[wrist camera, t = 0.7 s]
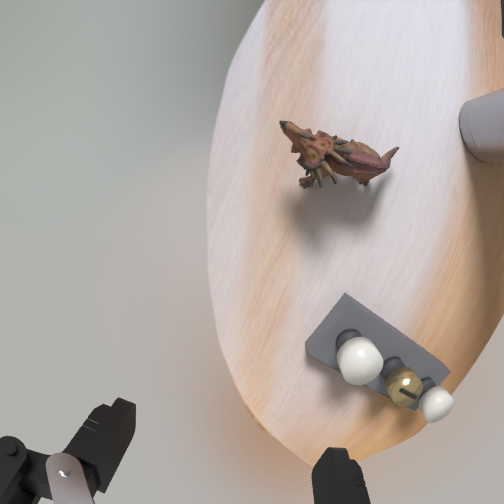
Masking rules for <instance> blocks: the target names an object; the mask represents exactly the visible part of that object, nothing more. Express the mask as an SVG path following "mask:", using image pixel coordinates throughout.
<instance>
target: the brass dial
mask: <svg viewBox="0 0 504 504" xmlns="http://www.w3.org/2000/svg"><path fill="white" fill-rule="evenodd" d="M385 388H386V390H387V392H388V394H389V395H390V397H391V399H392V401H393V403H394V404H395V405H397V406H406V405H409V404H411V403H412V402H414V401H415V400H416V399H417V398H418V397H419V396H420V394H421V393H422V390H423V383H422V382H421V380H420V379H419V378H418V376H417V375H416V374H415V372H414V371H413V370H412V369H411V368H410V367H401V368H398V369H396V370H395V371H393V372H392V373H391V374H390V375H389V376H388V378H387V380H386V382H385Z"/></svg>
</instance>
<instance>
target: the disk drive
mask: <svg viewBox="0 0 504 504" xmlns="http://www.w3.org/2000/svg"><path fill="white" fill-rule="evenodd" d="M501 10H502V36H503V37H504V0H501Z"/></svg>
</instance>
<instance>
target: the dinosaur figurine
mask: <svg viewBox="0 0 504 504" xmlns="http://www.w3.org/2000/svg"><path fill="white" fill-rule="evenodd" d="M279 123H280V125H281V128H282V130H283V133H284V134H285V135H286V136H287V137H288V138H289V139H290V140H291V141H292V142H293V145H292V150H291V153H293V152H294V153H298V152H299V153H300V154H301V155H300V157H299V159H298V160H297V162H298V164H300V166H302V167H304V170H305V169H306V176H307V175H308V174H309V173H310V174H311V176H309V177H305V178H300V179H299V181H300V182H301V183H300V186H301V185H302V186H303V188H305V187H307V185H308V186H309V187H310V186H311V185H313V182H314V180H315V179H318V183H319V186H320V187H322V178H324V177H325V176H327V174H329V176H330V177H331V178H332V179H333V181H334V183H335V184H336V183H337V179H336V176H335V174H334V173H333V172H336V173H337V174H340V175H343V176H351V175H353V177H354V179H355V180H358V181H359V184H362V183H363V184H364V185H365V186H366V185H367V183H368V182H369V180H370V179H372V178H374V177H376V176H378V175H379V174H381V173H383V172H385V171H386V170H387V169H388V168H389V167H390V162H391V158H392V157H393V155H394V154H395V153H396V152H397V150H398V149H399V147H395V148H393V149H392V150H390V151H389V152H387V153H386V154H385V155H384V156H382V157H381V158H380V156H379V154H378V153H377V152H376V151H375V150H373V149H371V148H370V147H368V146H367V145H365V144H364V143H361V142H355V141H354V140H353V139H352V140H351V142H348V141H346V140H343V139H341V138H338V137H337V136H333V137H331V136H329V135H328V134H326V133H325V132H323V131H320V130H319V131H318V132H317V134H316V135H313V134H312V132H311V129H305V130H303V129H301V128H299V127H298V126H297V125H295V124H294V123H292V122H290V121H280V122H279Z"/></svg>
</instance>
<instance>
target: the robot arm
mask: <svg viewBox="0 0 504 504" xmlns="http://www.w3.org/2000/svg"><path fill="white" fill-rule="evenodd" d="M460 129H461V133H462V136H463V139H464V142H465V144H466V146H467V147H468V149H469V150H470V152H471V153H472V154H473V155H474V156H475V157H476V158H477V159H479V160H480V161H483V162H504V89H501V90H498V91H495V92H492V93H490V94H487V95H484V96H481V97H478V98H475V99H473V100H470V101H468V102H466V103H465V104H464V105H463V107H462V109H461V112H460ZM135 427H136V404H134V403H132V402H129V401H126V400H124V399H122V398H117V399H116V400H115V402H114V403H113V405H112V406H111V407H110V406H108V405H105V404H103V405H100V406H99V407H97V408H95V409H94V410H93V411H92V412H91V414H90V415H89V416H88V419H86V421H85V422H84V423H83V426H81V427H80V429H79V430H78V432H77V433H76V434H75V436H74V437H73V439H72V440H71V441H70V443H69V444H68V446H67V447H66V448H65V450H64V451H63V452H61V453H55V454H53V455H45V454H42V453H38V452H35V451H32V450H28V449H26V447H25V445H24V444H23V443H22V442H21V441H20V440H19V439H17V438H15V437H12V436H4V437H2V438H0V504H38V502H39V500H40V498H41V497H44V498H47V499H50V500H53V502H54V504H95V502H94V500H93V497H94V495H95V493H96V491H97V490H98V491H100V492H102V493H105V492H106V490H107V487H108V486H109V483H110V481H111V480H112V478H113V476H114V474H115V472H116V470H117V468H118V466H119V464H120V462H121V460H122V458H123V456H124V454H125V452H126V450H127V448H128V446H129V444H130V442H131V440H132V438H133V435H134V432H135ZM312 486H313V495H314V504H371V503H370V499H369V496H368V492H367V488H366V487H365V481H364V479H363V473H362V470H361V467H360V466H359V465H358V463H357V462H356V461H355V460H353V459H349V455H348V451H347V449H346V448H333V447H328V448H327V449H326V450H325V452H324V453H323V455H322V456H321V458H320V459H319V460H318V462H317V463H316V465H315V466H314V468H313V471H312Z"/></svg>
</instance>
